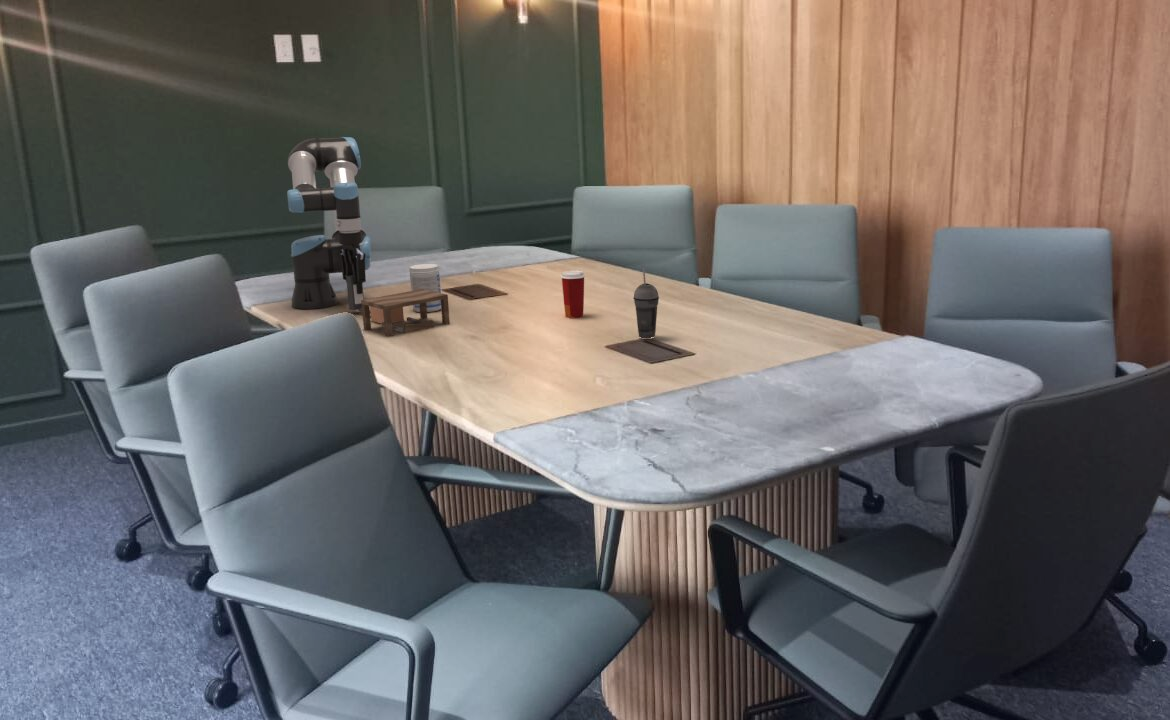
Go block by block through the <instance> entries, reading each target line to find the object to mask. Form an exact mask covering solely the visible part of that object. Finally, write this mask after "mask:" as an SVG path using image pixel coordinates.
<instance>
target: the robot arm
mask: <svg viewBox="0 0 1170 720" xmlns="http://www.w3.org/2000/svg"><path fill="white" fill-rule="evenodd" d="M287 165H288V166H287V167H288V169H289V170H290V172H291V178H292V189H289V190H287V192H286V193H287V203H288V210H289V212H291V213H300V214H302V213H312V212H313V213H314V212H329V211H332V212H333V221H334V226H335V227H334V229H335V231H334V232H333V233H332V235H331V238H328V239H327V236H326V235H324V234H316V235H311V236H306V237H302V238H299V239H296V240H294V241H293V242H292V243H291V246H290V247H291V251H290V252H291V254H290V257H291V258H292V267H293V268H292V269H293V270H292V271H293V279H294V288H293V291H292V296H291V301H290V302H291V307H292V308H293V309H297V310H298V309H299V310H313V309H324V308H329V307H333V306H336V305H337V304H338V298H337V295H336V292H335V291H334V287H333V286H332V283H331V280H330V274H338V273H339V274H341V273H342V274H341V275H342V279H343V281H345V283H347V280H346V276H349V275H353V276H354V282H355V283H353V287H354V298H355V304H360V303H361V300H363V296H364V290H363V291H362V285H363V284H364V283H366V281H367V280H366V271H368V270H369V269H370V268H371V262H372V259H371V258H372V257H371V256H372V255H371V253H372V252H371V251H372V248H371V247H372V246H371V245H372V238H371V236H369V235H367V234H366V231H365V229H363V228H362V220H361V219H362V218H361V211H360V197H359V195H360V191H359V188H358V185H357V183H356V181H355V177H356V176H357V174H358V170H361V168H362V161H361V157H360V150H359V146H358V143H357V141H356V139H354V137H350V136H349V137H344V136H340V137H322V138H318V137H317V138H313V137H312V138H308V139H304V140H303V141H301V142H299V143H297V144H296V146H294V148H292V150H291V151H290V153H289V154H288V158H287ZM315 172H324V175H325V177H327V178H328V179H329V183H330V187H329V186H328V187H317V181H316V175H315Z"/></svg>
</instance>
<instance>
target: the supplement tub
mask: <svg viewBox="0 0 1170 720" xmlns="http://www.w3.org/2000/svg"><path fill="white" fill-rule="evenodd" d="M409 279H410V291H415V290H420V289H425V290H429V291H434V292H438V293H442V290H441V288H442V287H441V279H440V269H439V265H438V264H435V263H424V264H423V263H422V264H414V265H411V266H410V267H409ZM426 305H427V313H431V312H437V311H440V310H441V300H437V301H432V302H427V303H426ZM412 309H413V311H414V312H416V313H420V306H419V304H416V305H412Z"/></svg>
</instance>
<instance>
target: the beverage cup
mask: <svg viewBox="0 0 1170 720" xmlns="http://www.w3.org/2000/svg"><path fill="white" fill-rule="evenodd" d="M645 270H646V269H645V267H642V276H643V283H641V284H640V285H638V286H637V287H636V288H635V291H634V292H633V303H634V306H635V313H636V324H637V332H638V338H639V337H641V338H651V337H654V336H655V337H656V331H657V316H658V305H659V299H660V297H659V292H658V290H657V288H656V287H655V286H654V285H653V284H651V283H648V282H646V271H645Z"/></svg>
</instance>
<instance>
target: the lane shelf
mask: <svg viewBox="0 0 1170 720" xmlns="http://www.w3.org/2000/svg"><path fill="white" fill-rule="evenodd" d="M448 295H449V294H446V293H442V292H441V293H438V292H434V291H429V290H425V289H420V290H415V291H411V290H410V291H403V292H399V293H393V294H387V295H383V296H377V297H371V298H364V300H361V303H362V311H361V312H362V322H363V330H364V331H370V330H372V323H371V322H372V321H371V314H370V306H371V307H375V308H379V309H383V315H384V322H382V324H381V327H383V328H384V336H385V337H393V336H394V335H393V333H394V332H393V330H394V331H397V332H400V333H403V334H407V333H413V332H418V331H421V330H425V329H430V328H434V321H433V320H426V319H428V312H427V305H426V303H427V302H432V301H437V300H441V309H440V310H441V321H442V323H441V324H442V325H444V326H445V325H450V323H451V322H450V306H449V296H448ZM416 304H419V306H420V312H419V315H420V319H418V318H415V317H414V318H413V317H410V316H409V317H408V316H407V317H406V322H407V321H408V323H411V324H406V325H403V326H400V325H397V324H394V323H392V321H391V309H395V308H400V307H403V308H404V307H405V308H406V307H409V306H410V307H411V306H413V305H416ZM421 318H422V320H421ZM424 319H425V320H426V321H425V320H424Z"/></svg>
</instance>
